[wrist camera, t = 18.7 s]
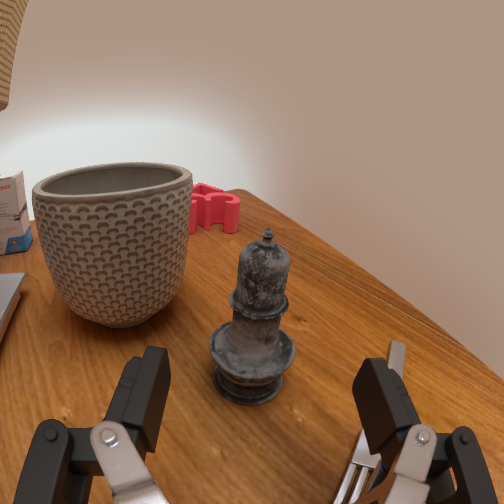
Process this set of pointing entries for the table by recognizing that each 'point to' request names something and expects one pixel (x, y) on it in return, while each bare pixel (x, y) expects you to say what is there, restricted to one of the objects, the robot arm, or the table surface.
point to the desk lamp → (3, 50)
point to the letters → (213, 208)
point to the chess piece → (255, 327)
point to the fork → (361, 451)
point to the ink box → (13, 214)
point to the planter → (115, 237)
